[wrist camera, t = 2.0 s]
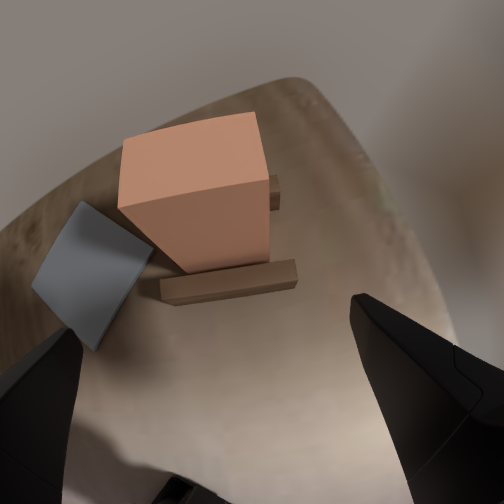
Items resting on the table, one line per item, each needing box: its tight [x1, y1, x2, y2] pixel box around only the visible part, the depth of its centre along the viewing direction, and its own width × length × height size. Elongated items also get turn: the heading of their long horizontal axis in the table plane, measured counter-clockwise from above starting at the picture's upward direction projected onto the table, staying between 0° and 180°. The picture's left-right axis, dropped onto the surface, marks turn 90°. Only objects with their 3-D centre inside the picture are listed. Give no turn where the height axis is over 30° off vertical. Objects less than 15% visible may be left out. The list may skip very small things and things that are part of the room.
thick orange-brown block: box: [118, 112, 270, 275], centre depth 17 cm, size 4×6×12 cm, turn 98°
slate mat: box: [31, 200, 155, 351], centre depth 23 cm, size 10×10×1 cm
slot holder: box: [160, 175, 298, 306], centre depth 21 cm, size 8×9×3 cm
